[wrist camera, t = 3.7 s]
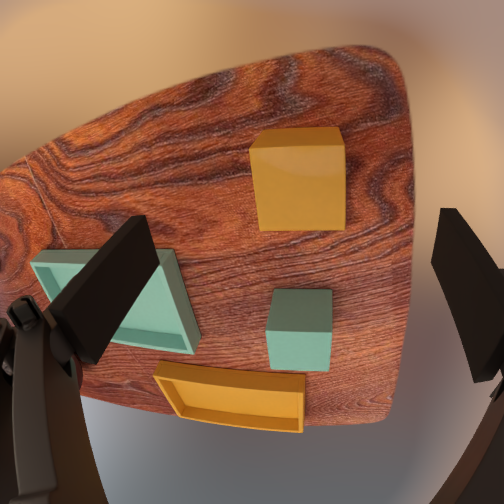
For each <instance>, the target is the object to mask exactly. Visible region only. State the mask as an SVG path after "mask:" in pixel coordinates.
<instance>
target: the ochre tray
mask: <svg viewBox="0 0 504 504" xmlns="http://www.w3.org/2000/svg"><path fill="white" fill-rule="evenodd" d="M153 377H154V378H155V380H156V382H157V383H158V385H159V387H160V388H161V390H162V391H163V393H164V395H165V396H166V398H167V399H168V401H169V403H170V404H171V406H172V407H173V409H174V410H175V412H176V413H177V415H178V416H179V417H181V418H186V419H191V420H197V421H202V422H208V423H214V424H221V425H227V426H235V427H243V428H251V429H259V430H270V431H282V432H297V433H298V432H299V433H303V428H304V420H305V374H286V373H269V372H256V371H244V370H233V369H223V368H214V367H205V366H197V365H190V364H183V363H176V362H169V361H163V360H160V361H159V364H158V365H157V368H156V370H155V372H154V374H153Z"/></svg>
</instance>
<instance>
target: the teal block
mask: <svg viewBox="0 0 504 504" xmlns="http://www.w3.org/2000/svg"><path fill="white" fill-rule="evenodd" d="M265 332H266V339H267V346H268V353H269V360H270V367H271V369H279V370H300V371H329V365H330V354H331V342H332V289H274V293H273V297H272V302H271V307H270V312H269V316H268V321H267V325H266V330H265Z"/></svg>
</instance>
